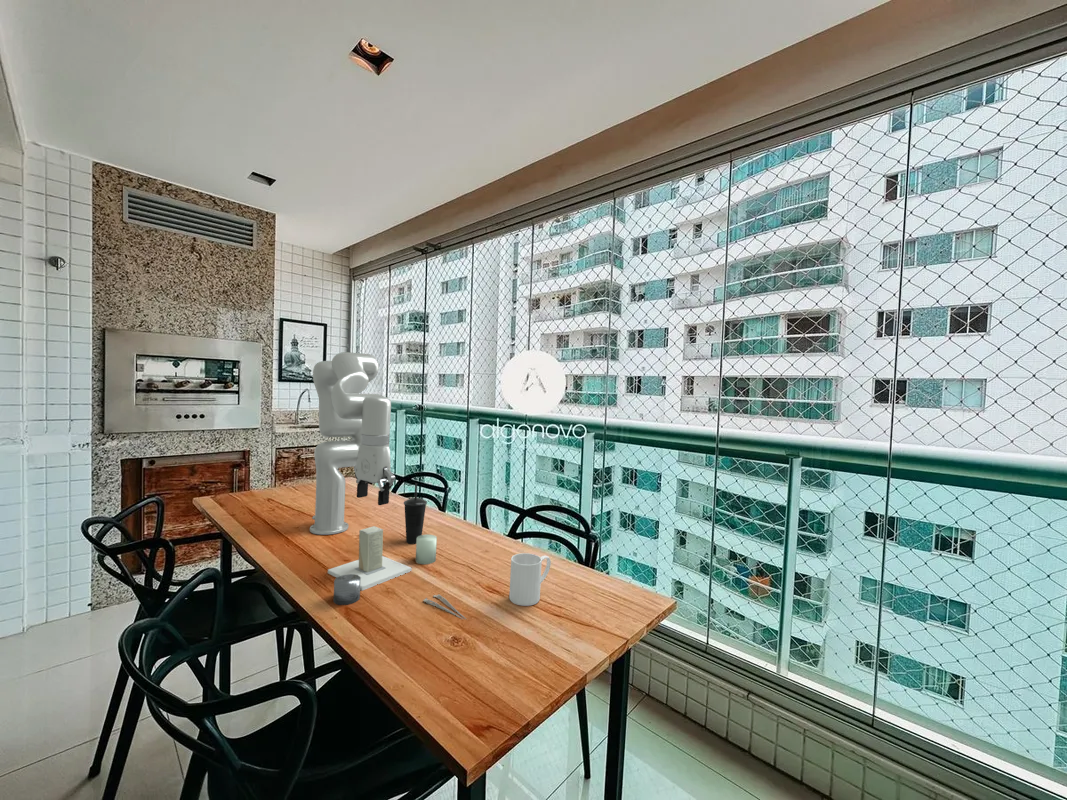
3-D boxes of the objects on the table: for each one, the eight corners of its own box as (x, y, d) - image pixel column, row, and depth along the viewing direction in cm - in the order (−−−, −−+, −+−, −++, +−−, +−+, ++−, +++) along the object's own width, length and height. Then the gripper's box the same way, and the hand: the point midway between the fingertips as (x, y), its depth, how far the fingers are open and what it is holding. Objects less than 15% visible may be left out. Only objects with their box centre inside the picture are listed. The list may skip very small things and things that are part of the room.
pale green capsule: (411, 560, 136) (412, 538, 136) (426, 555, 141) (427, 533, 141) (424, 566, 132) (425, 542, 132) (439, 560, 137) (440, 537, 137)
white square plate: (327, 573, 124) (327, 569, 124) (377, 556, 137) (377, 553, 137) (362, 590, 115) (362, 586, 115) (411, 571, 128) (411, 567, 128)
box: (373, 563, 130) (375, 525, 129) (382, 567, 127) (384, 528, 127) (357, 568, 126) (358, 529, 125) (366, 572, 123) (367, 533, 123)
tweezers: (421, 603, 111) (422, 595, 111) (436, 597, 115) (437, 590, 115) (466, 636, 100) (467, 628, 100) (482, 629, 103) (483, 620, 103)
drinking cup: (428, 538, 155) (430, 481, 154) (420, 546, 148) (423, 486, 147) (407, 536, 156) (409, 480, 155) (398, 544, 148) (400, 485, 148)
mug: (522, 609, 110) (524, 567, 109) (503, 597, 116) (505, 557, 115) (558, 596, 118) (560, 557, 117) (538, 585, 124) (540, 547, 123)
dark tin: (328, 599, 110) (329, 579, 110) (350, 591, 115) (351, 572, 115) (342, 607, 106) (343, 587, 106) (364, 598, 111) (365, 579, 111)
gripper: (345, 437, 127) (342, 496, 128) (383, 446, 117) (380, 510, 118) (368, 435, 133) (365, 492, 134) (406, 443, 123) (403, 504, 124)
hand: (372, 500), depth 126 cm, fingers open, 9 cm apart
